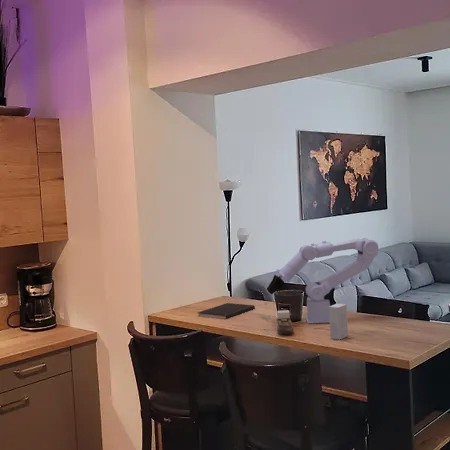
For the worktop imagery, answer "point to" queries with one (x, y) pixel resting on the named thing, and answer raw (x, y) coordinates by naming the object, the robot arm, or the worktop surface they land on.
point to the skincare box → (338, 321)
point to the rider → (283, 315)
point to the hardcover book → (226, 311)
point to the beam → (284, 326)
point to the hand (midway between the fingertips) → (268, 291)
